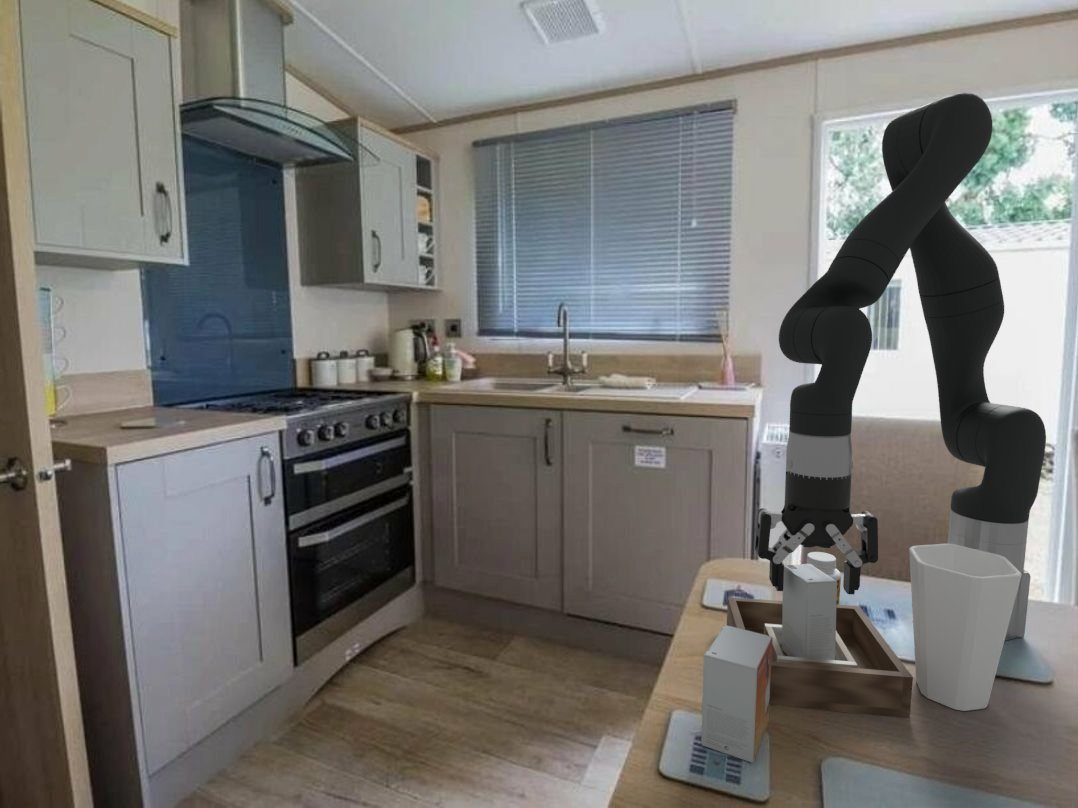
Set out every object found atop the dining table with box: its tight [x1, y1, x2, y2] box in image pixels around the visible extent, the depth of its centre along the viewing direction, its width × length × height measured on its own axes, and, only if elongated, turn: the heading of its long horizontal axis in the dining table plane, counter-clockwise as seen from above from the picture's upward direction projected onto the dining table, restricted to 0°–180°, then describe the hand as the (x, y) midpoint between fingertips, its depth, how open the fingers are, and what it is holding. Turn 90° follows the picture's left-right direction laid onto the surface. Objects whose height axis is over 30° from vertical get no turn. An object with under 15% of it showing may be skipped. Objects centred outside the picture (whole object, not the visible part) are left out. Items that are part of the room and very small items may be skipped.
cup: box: [908, 543, 1022, 712], centre depth 74 cm, size 11×10×17 cm
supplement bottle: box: [806, 551, 842, 605], centre depth 93 cm, size 6×6×10 cm
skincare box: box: [782, 563, 837, 660], centre depth 80 cm, size 6×4×12 cm
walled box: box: [726, 596, 914, 719], centre depth 81 cm, size 18×18×5 cm
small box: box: [700, 624, 773, 764], centre depth 67 cm, size 8×6×10 cm
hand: (813, 590), depth 79 cm, fingers open, 8 cm apart
